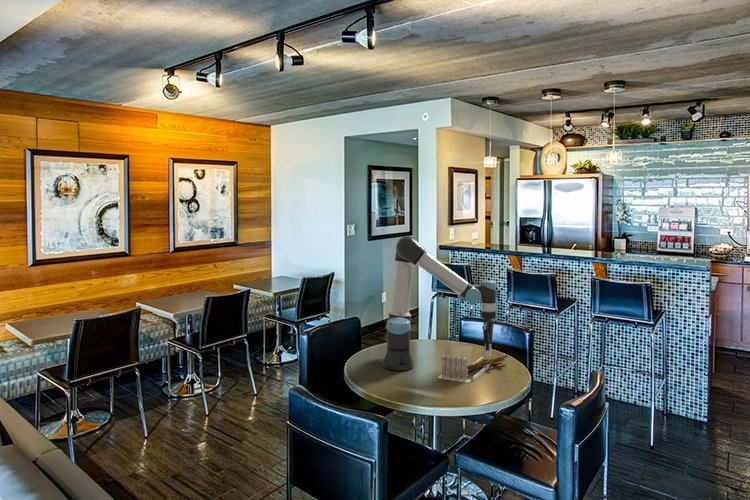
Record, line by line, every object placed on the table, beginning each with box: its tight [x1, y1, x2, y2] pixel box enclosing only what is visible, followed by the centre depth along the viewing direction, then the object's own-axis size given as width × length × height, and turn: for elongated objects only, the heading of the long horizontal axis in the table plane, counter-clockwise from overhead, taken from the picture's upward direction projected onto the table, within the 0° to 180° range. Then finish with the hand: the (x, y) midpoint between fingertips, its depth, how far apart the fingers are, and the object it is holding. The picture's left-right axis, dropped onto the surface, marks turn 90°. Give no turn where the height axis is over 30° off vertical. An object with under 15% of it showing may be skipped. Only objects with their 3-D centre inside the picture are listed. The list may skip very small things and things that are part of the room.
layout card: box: [436, 374, 472, 384], centre depth 227 cm, size 15×4×1 cm, turn 61°
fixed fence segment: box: [441, 354, 468, 381], centre depth 228 cm, size 2×12×10 cm, turn 61°
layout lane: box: [467, 356, 492, 381], centre depth 243 cm, size 8×37×2 cm, turn 151°
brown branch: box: [467, 354, 509, 371], centre depth 245 cm, size 25×2×10 cm
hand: (487, 355), depth 258 cm, fingers closed
